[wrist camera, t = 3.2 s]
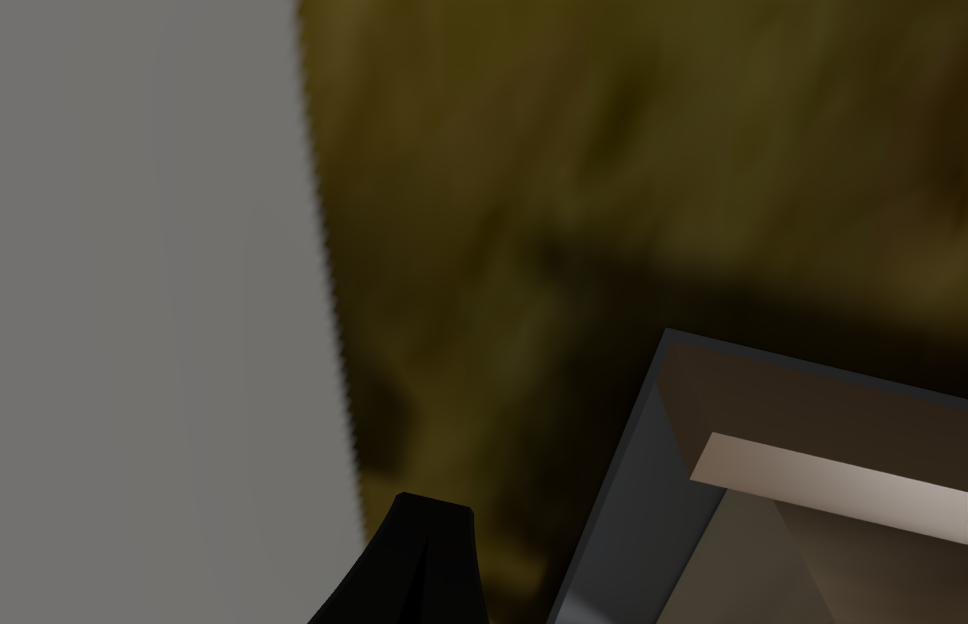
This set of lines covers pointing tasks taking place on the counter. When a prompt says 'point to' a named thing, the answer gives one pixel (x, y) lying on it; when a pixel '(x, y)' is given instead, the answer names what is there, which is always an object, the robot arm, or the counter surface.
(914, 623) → the tan wooden block
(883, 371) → the counter surface
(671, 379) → the bay
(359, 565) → the robot arm
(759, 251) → the counter surface
